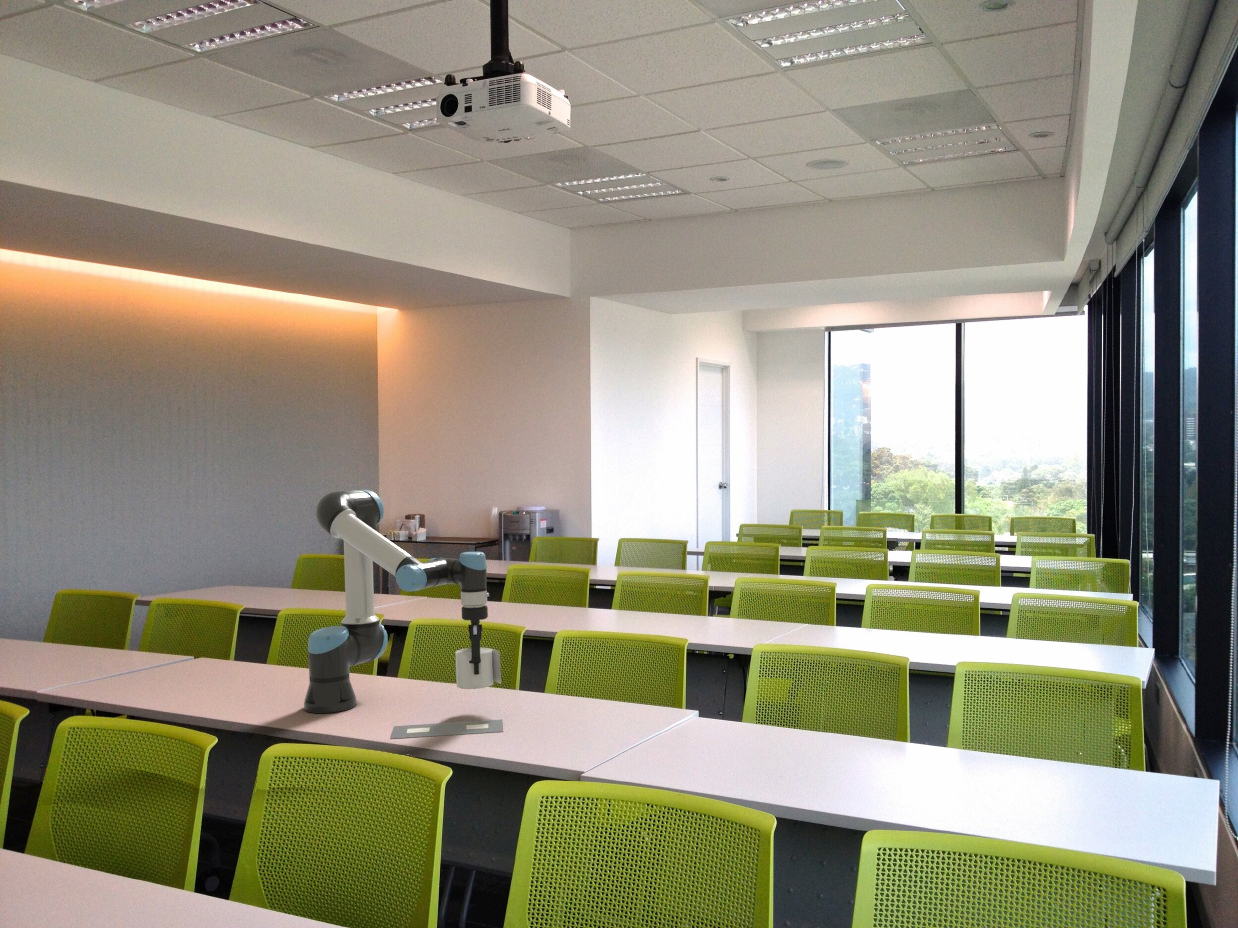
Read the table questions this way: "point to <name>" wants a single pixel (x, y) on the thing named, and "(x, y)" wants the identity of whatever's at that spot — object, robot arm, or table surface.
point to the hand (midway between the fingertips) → (477, 680)
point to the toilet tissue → (488, 668)
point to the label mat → (447, 729)
